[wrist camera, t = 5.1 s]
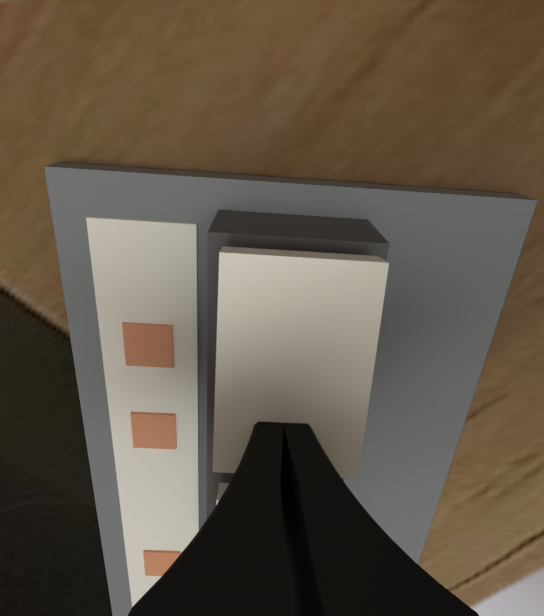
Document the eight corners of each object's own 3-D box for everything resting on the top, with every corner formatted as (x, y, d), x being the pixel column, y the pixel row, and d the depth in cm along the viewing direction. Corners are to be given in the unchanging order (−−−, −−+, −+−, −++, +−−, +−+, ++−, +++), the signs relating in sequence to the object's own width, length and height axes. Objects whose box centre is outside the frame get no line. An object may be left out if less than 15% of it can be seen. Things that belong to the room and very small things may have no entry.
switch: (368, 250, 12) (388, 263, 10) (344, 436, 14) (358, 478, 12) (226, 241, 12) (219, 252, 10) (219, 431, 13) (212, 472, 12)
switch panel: (518, 193, 15) (597, 220, 12) (388, 613, 26) (408, 696, 22) (60, 162, 15) (-8, 180, 11) (121, 605, 25) (96, 689, 22)
